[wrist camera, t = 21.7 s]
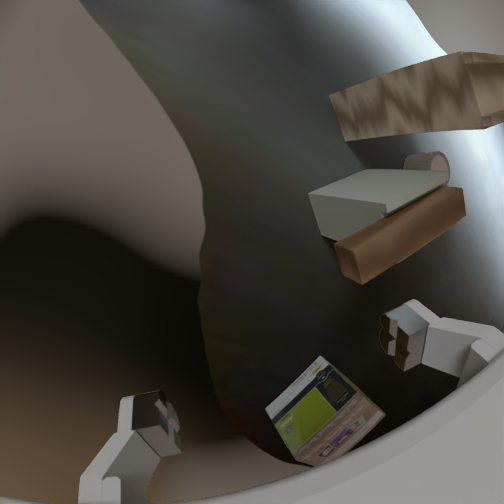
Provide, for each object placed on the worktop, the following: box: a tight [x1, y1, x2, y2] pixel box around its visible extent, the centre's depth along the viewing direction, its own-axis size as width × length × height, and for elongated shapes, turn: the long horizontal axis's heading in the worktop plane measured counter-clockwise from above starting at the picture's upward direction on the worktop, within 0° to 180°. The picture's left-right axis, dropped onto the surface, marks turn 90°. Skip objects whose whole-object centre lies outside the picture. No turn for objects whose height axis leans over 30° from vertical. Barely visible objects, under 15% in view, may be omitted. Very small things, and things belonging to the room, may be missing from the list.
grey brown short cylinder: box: [403, 151, 450, 186], centre depth 47 cm, size 7×7×7 cm
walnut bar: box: [334, 186, 466, 285], centre depth 30 cm, size 4×18×4 cm, turn 111°
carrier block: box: [308, 169, 456, 264], centre depth 39 cm, size 7×12×18 cm, turn 112°
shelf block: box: [329, 51, 504, 142], centre depth 32 cm, size 8×13×27 cm, turn 111°
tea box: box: [265, 356, 386, 466], centre depth 48 cm, size 15×10×15 cm, turn 134°
